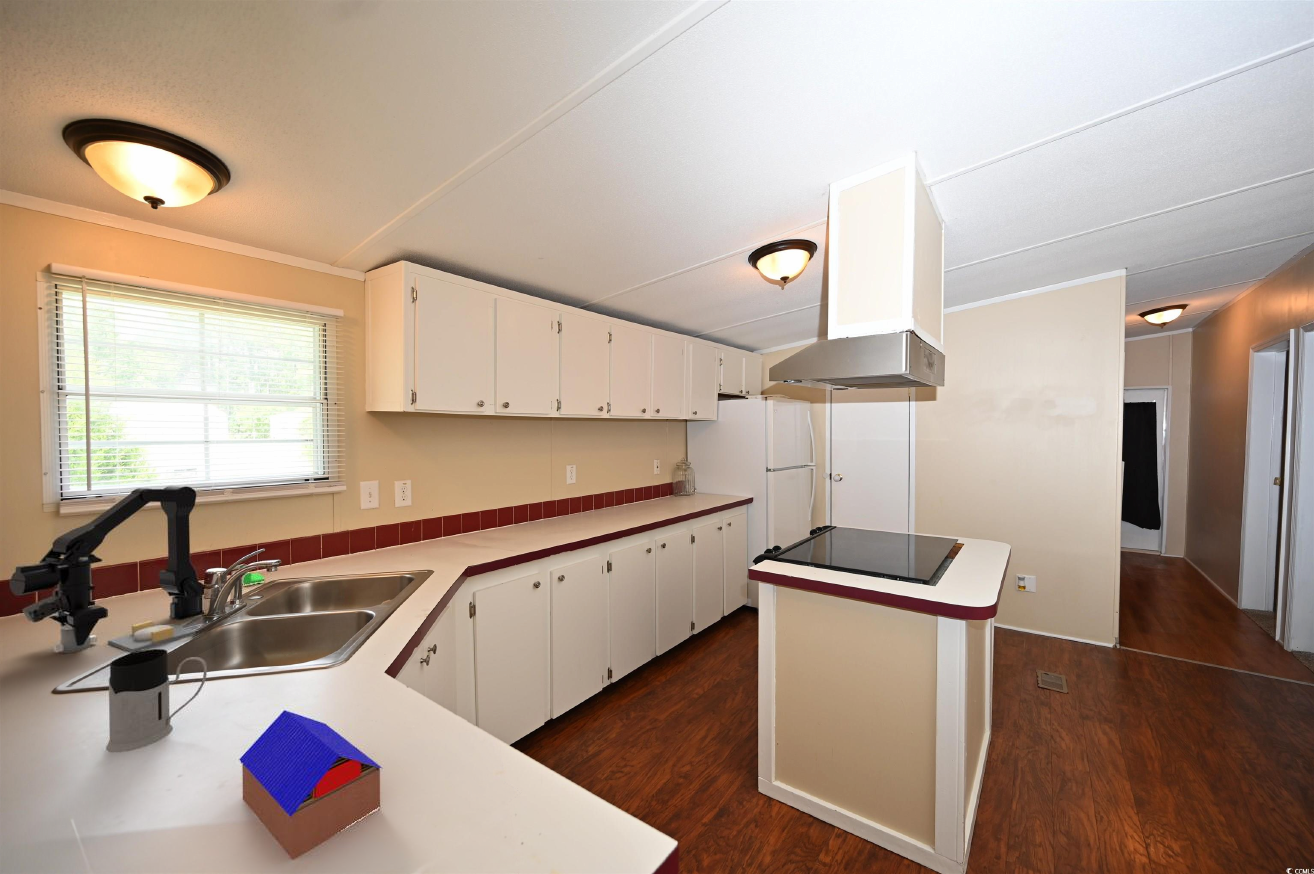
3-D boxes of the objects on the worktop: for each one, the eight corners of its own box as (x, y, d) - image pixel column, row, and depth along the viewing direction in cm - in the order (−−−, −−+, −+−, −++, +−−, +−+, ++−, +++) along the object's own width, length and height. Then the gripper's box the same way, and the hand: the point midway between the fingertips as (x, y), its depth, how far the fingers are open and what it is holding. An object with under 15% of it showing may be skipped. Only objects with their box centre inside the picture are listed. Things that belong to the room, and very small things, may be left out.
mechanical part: (264, 584, 189) (264, 562, 189) (243, 587, 185) (243, 565, 185) (258, 577, 198) (258, 556, 198) (238, 581, 193) (238, 559, 193)
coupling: (91, 642, 137) (90, 618, 137) (99, 645, 135) (99, 621, 135) (50, 653, 131) (50, 628, 131) (59, 657, 129) (59, 631, 129)
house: (325, 761, 89) (325, 694, 89) (383, 812, 77) (383, 735, 77) (239, 802, 79) (238, 727, 79) (290, 867, 68) (290, 779, 68)
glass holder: (123, 730, 98) (122, 651, 97) (216, 715, 103) (215, 640, 103) (93, 757, 90) (92, 672, 89) (196, 739, 95) (195, 658, 95)
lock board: (170, 626, 148) (170, 614, 148) (195, 634, 143) (195, 621, 143) (108, 644, 136) (107, 631, 136) (132, 653, 131) (132, 639, 131)
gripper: (11, 587, 129) (12, 649, 129) (43, 597, 122) (44, 663, 122) (75, 575, 139) (76, 633, 140) (108, 584, 132) (109, 645, 132)
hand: (75, 643), depth 133 cm, fingers closed on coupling, 5 cm apart
